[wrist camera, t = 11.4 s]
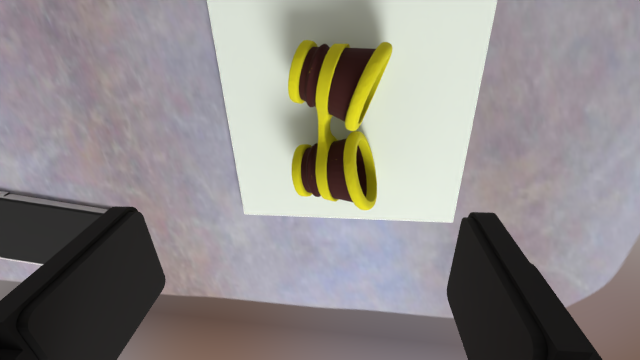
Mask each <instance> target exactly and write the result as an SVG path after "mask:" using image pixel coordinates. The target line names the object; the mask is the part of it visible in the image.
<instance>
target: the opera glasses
mask: <svg viewBox="0 0 640 360" xmlns="http://www.w3.org/2000/svg"><path fill="white" fill-rule="evenodd" d="M392 49H393V47H392V45H391V44H390V43H388V42H382V43H381V44H380V45H379V46H378V47H377V49H372V48H350V45H349V44H336V43H335V44H333V45H332V46H331V47H329V46H328V45H327V44H322V45H321V46H320V47H318V46H317V44H316V43H315V42H314V41H311V40H304V41H302V42H301V43H300V45H299V46H298V48H297V50H296V52H295V54H294V57H293V60H292V63H291V67H290V72H289V79H288V94H289V97H290V99H291V100H292V101H293V102H295V103H299V104H302V103H304V102H306V103H307V105H308V106H309V107H314V106H315V107H316V109H317V114H318V143H316V144H314V145H313V146H311V145H309V144H302V145H299V146H298V147H297V148H296V150H295V152H294V155H293V159H292V181H293V185H294V188H295V190H296V192H297V193H298V195H300V196H304V197H308V196H311V195H312V194H313V195H314V196H315V197H320V196H322V198H324V199H326V200H330V201H334V202H336V201H338V200H339V199H340V200H344V201H349V202H353V203H354V204H355V206H357V207H358V208H359V209H360V210H370V209H371V208H373V206H374V205H375V202H376V199H377V178H376V170H375V164H374V159H373V155H372V152H371V148H370V146H369V143H368V140H367V139H366V137H365V135H364V134H363V133H362V132H359V131H355V130H357V129H358V128H359V126H360V125H361V123H362V121H363V119H364V117H365V114H366V112H367V110H368V108H369V105H370V103H371V101H372V99H373V96H374V94H375V92H376V90H377V87H378V85H379V83H380V80H381V78H382V76H383V73H384V71H385V69H386V66H387V64H388V62H389V59H390V57H391V54H392ZM332 116H334V117H336V118H338V119H340V120H342V121H344V122H345V127H346V129H348V130H350V131H353V132H351V133H350V134H349V135H348V137H347V138H346V139H342V140H337V139H336V138H335V137H334V136H333V134H332V133H331V130H330V122H331V118H332Z"/></svg>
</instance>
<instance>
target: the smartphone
mask: <svg viewBox="0 0 640 360" xmlns="http://www.w3.org/2000/svg"><path fill="white" fill-rule="evenodd" d="M107 210H108V209H101V208H95V207H89V206H83V205H77V204H71V203H64V202H58V201H52V200H46V199H40V198H33V197H27V196H21V195H15V194H10V193H9V192H4V191H0V259H5V260H12V261H18V262H24V263H30V264H37V265H43V264H44V263H46V262H47V261H48V260H49V259H50V258H52V257H53V256H54V255H55V254H56V253H58V252H59V251H60V250H61V249H62V248H63V247H65V246H66V245H67V244H68V243H69V242H71V241H72V240H73V239H74V238H75V237H77V236H78V235H79V234H80V233H81V232H82V231H84V230H85V229H86V228H87V227H88V226H90V225H91V224H92V223H93V222H94V221H95V220H97V219H98V218H99V217H100V216H101V215H103V214H104V213H105V212H106V211H107Z"/></svg>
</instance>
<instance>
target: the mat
mask: <svg viewBox="0 0 640 360" xmlns="http://www.w3.org/2000/svg"><path fill="white" fill-rule="evenodd" d="M207 4H208V10H209V16H210V21H211V27H212V33H213V38H214V44H215V50H216V55H217V61H218V67H219V72H220V78H221V84H222V89H223V95H224V101H225V106H226V112H227V118H228V123H229V129H230V135H231V140H232V146H233V152H234V157H235V163H236V169H237V174H238V180H239V186H240V191H241V197H242V203H243V208H244V214H248V215H273V216H298V217H323V218H349V219H374V220H399V221H425V222H450V223H453V219H454V214H455V209H456V204H457V199H458V194H459V189H460V184H461V179H462V174H463V169H464V164H465V159H466V154H467V149H468V144H469V139H470V134H471V129H472V124H473V119H474V114H475V109H476V104H477V99H478V94H479V89H480V84H481V79H482V74H483V69H484V64H485V59H486V54H487V49H488V44H489V39H490V34H491V29H492V24H493V19H494V14H495V9H496V4H497V0H207ZM304 40H311V41H314V42H315V43H316V44H317V46H318V47H320V46H321V45H322V44H327V45H328V46H329V47H331V46H332V45H333V44H335V43H336V44H349V45H350V48H372V49H377V47H378V46H379V45H380V44H381V43H382V42H388V43H390V44H391V45H392V47H393V49H392V54H391V57H390V59H389V62H388V64H387V66H386V69H385V71H384V73H383V76H382V78H381V80H380V83H379V85H378V87H377V90H376V92H375V94H374V96H373V99H372V101H371V103H370V105H369V108H368V110H367V112H366V114H365V117H364V119H363V121H362V123H361V125H360V126H359V128H358V129H357V130H355V131H359V132H362V133H363V134H364V135H365V137H366V139H367V140H368V143H369V146H370V148H371V152H372V155H373V159H374V164H375V170H376V178H377V199H376V202H375V205H374V206H373V208H371V209H370V210H360V209H359V208H358V207H357V206H355V204H354V203H353V202H349V201H344V200H340V199H339V200H338V201H336V202H334V201H330V200H326V199H324V198H322V196H320V197H315V196H314V195H313V194H312V195H311V196H308V197H304V196H300V195H298V193H297V192H296V190H295V188H294V185H293V181H292V159H293V155H294V152H295V150H296V148H297V147H298V146H299V145H302V144H309V145H311V146H313V145H314V144H316V143H318V114H317V109H316V107H315V106H314V107H309V106H308V105H307V103H306V102H304V103H302V104H299V103H295V102H293V101H292V100H291V99H290V97H289V94H288V79H289V72H290V67H291V63H292V60H293V57H294V54H295V52H296V50H297V48H298V46H299V45H300V43H301V42H302V41H304ZM330 130H331V133H332V134H333V136H334V137H335V138H336V139H337V140H342V139H346V138H347V137H348V135H349V134H350V133H351V132H353V131H350V130H348V129H346V127H345V122H344V121H342V120H340V119H338V118H336V117H334V116H332V118H331V122H330Z"/></svg>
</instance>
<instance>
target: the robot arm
mask: <svg viewBox="0 0 640 360" xmlns="http://www.w3.org/2000/svg"><path fill="white" fill-rule="evenodd" d="M164 285H165V275H164V273H163V270H162V267H161V264H160V261H159V259H158V256H157V253H156V250H155V248H154V245H153V242H152V239H151V236H150V234H149V231H148V228H147V225H146V223H145V220H144V217H143V215H142V213H140V212H138V210H137V209H136V208H134V207H112V208H110V209H109V210H107V211H106V212H105V213H104V214H103V215H101V216H100V217H99V218H98V219H97V220H95V221H94V222H93V223H92V224H91V225H90V226H88V227H87V228H86V229H85V230H84V231H82V232H81V233H80V234H79V235H78V236H77V237H75V238H74V239H73V240H72V241H71V242H69V243H68V244H67V245H66V246H65V247H63V248H62V249H61V250H60V251H59V252H58V253H56V254H55V255H54V256H53V257H52V258H50V259H49V260H48V261H47V262H46V263H44V264H43V265H42V266H41V267H40V268H39V269H37V270H36V271H35V272H34V273H33V274H31V275H30V276H29V277H28V278H27V279H26V280H24V281H23V282H22V283H21V284H20V285H18V286H17V287H16V288H15V289H14V290H13V291H11V292H10V293H9V294H8V295H7V296H5V297H4V298H3V299H2V300H1V301H0V360H117V358H118V357H119V355H120V354H121V352H122V351H123V349H124V348H125V346H126V345H127V343H128V342H129V340H130V339H131V337H132V336H133V334H134V332H135V331H136V329H137V328H138V326H139V325H140V323H141V322H142V320H143V319H144V317H145V316H146V314H147V313H148V311H149V309H150V308H151V307H152V305H153V303H154V302H155V300H156V299H157V298H158V296H159V295H160V293H161V292H162V290H163V288H164ZM447 297H448V301H449V304H450V307H451V310H452V313H453V316H454V319H455V322H456V325H457V328H458V331H459V334H460V337H461V340H462V342H463V346H464V349H465V351H466V355H467V358H468V360H602V358H601V357H600V356H599V354H598V353H597V351H596V350H595V349H594V347H593V346H592V345H591V343H590V342H589V340H588V339H587V338H586V336H585V335H584V333H583V332H582V331H581V329H580V328H579V326H578V325H577V324H576V322H575V321H574V319H573V318H572V317H571V315H570V314H569V312H568V311H567V310H566V308H565V307H564V305H563V304H562V303H561V301H560V300H559V298H558V297H557V296H556V294H555V293H554V291H553V290H552V289H551V287H550V286H549V284H548V283H547V282H546V280H545V279H544V278H543V276H542V275H541V273H540V272H539V271H538V269H537V268H536V267H535V266H534V265H533V264H531V263H530V262H529V261H528V259H527V258H526V257H525V255H524V254H523V252H522V251H521V250H520V248H519V247H518V245H517V244H516V242H515V241H514V240H513V238H512V237H511V235H510V234H509V232H508V231H507V230H506V228H505V227H504V225H503V224H502V223H501V221H500V220H499V218H498V217H497V215H496V214H495V213H478V212H472V213H470V214H469V216H468V218H463V219H462V221H461V225H460V230H459V235H458V239H457V244H456V248H455V253H454V258H453V262H452V267H451V272H450V276H449V281H448V286H447Z"/></svg>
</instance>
